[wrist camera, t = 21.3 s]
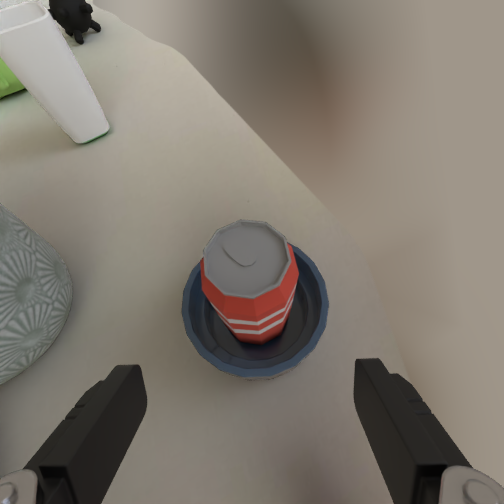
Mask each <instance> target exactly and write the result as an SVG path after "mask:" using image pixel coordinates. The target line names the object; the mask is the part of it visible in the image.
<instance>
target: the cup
mask: <svg viewBox="0 0 504 504" xmlns="http://www.w3.org/2000/svg"><path fill="white" fill-rule="evenodd" d="M0 57H1V58H2V60H3V61H4V62H5V63H6V65H7V66H8V67H9V68H10V70H11V71H12V72H13V73H14V75H15V76H16V77H17V78H18V79H19V81H20V82H21V83H22V84H23V85H24V87H25V88H26V89H27V90H28V91H29V93H30V94H31V95H32V96H33V97H34V98H35V100H36V101H37V102H38V103H39V104H40V105H41V106H42V108H43V109H44V110H45V111H46V112H47V113H48V114H49V115H50V117H51V118H52V119H53V120H54V121H55V122H56V123H57V124H58V125H59V126H60V127H61V128H62V129H63V130H64V132H65V133H66V134H67V135H68V136H69V137H70V138H71V139H72V140H73V141H74V142H75V143H87V142H89V141H92V140H94V139H96V138H98V137H100V136H103V135H104V134H106V133H107V132H108V130H109V128H110V126H109V124H108V121H107V119H106V117H105V115H104V112H103V110H102V108H101V106H100V104H99V102H98V100H97V98H96V96H95V94H94V92H93V90H92V88H91V86H90V84H89V82H88V80H87V78H86V76H85V75H84V73H83V71H82V69H81V67H80V65H79V63H78V62H77V60H76V58H75V56H74V54H73V53H72V51H71V49H70V47H69V46H68V44H67V42H66V40H65V39H64V37H63V35H62V33H61V32H60V30H59V28H58V27H57V25H56V23H55V21H54V20H53V18H52V16H51V14H50V13H49V11H48V10H47V9H46V8H45V7H44V6H43V4H42V3H41V2H39V1H36V0H31V1H25V2H21V3H18V4H15V5H11V6H8V7H5V8H1V9H0Z"/></svg>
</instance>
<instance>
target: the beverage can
mask: <svg viewBox="0 0 504 504" xmlns="http://www.w3.org/2000/svg"><path fill="white" fill-rule="evenodd" d="M200 266H201V282H202V290H203V292H204V294H205V295H206V297H207V298H208V300H209V301H210V303H211V304H212V306H213V307H214V309H215V310H216V312H217V313H218V315H219V317H220V318H221V320H222V321H223V323H224V324H225V326H226V327H227V328H228V329H229V330H230V331H231V332H232V333H233V335H234V336H235V337H236V338H237V339H238V340H239V341H240V342H245V343H251V344H258V345H263V344H265V343H266V342H268V341H270V340H272V339H274V338H276V337H278V336H279V335H281V333H282V331H283V329H284V326H285V324H286V322H287V320H288V317H289V315H290V310H291V306H292V302H293V297H294V293H295V289H296V284H297V280H298V275H299V272H298V268H297V264H296V260H295V257H294V253H293V249H292V246H291V245H289V244H288V243H287V241H286V237H285V236H284V235H282V234H281V233H280V232H278V231H277V230H276V229H274V228H273V227H272V226H271V225H269V224H268V223H267V222H262V221H252V220H241V219H240V220H238V221H236V222H233V223H231V224H229V225H227V226H224V227H222V228H220V229H218V230H217V231H216V232H215V233H214V235H213V236H212V238H211V239H210V241H209V242H208V244H207V245H206V247H205V248H204V250H203V258H202V260H201V261H200Z"/></svg>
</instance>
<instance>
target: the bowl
mask: <svg viewBox="0 0 504 504" xmlns="http://www.w3.org/2000/svg"><path fill="white" fill-rule="evenodd" d="M287 243H288V242H287ZM288 244H289V245H291V246H292V249H293V253H294V257H295V260H296V264H297V268H298V272H299V275H298V280H297V284H296V289H295V293H294V297H293V302H292V306H291V310H290V315H289V317H288V320H287V322H286V324H285V326H284V329H283V331H282V333H281V335H279V336H278V337H276V338H274V339H272V340H270V341H268V342H266V343H265V344H263V345H258V344H251V343H245V342H240V341H239V340H238V339H237V338H236V337H235V336H234V335H233V333H232V332H231V331H230V330H229V329H228V328H227V327H226V326H225V324H224V323H223V321H222V320H221V318H220V317H219V315H218V313H217V312H216V310H215V309H214V307H213V306H212V304H211V303H210V301H209V300H208V298H207V297H206V295H205V294H204V292H203V290H202V282H201V266H200V262H199V263H198V264H197V265H196V266H195V268H194V269H193V270H192V272H191V274H190V276H189V279H188V281H187V284H186V286H185V288H184V291H183V301H182V316H183V321H184V325H185V329H186V333H187V336H188V337H189V339H190V340H191V342H192V343H193V345H194V347H195V348H196V350H197V351H198V353H199V354H200V355H201V356H202V357H203V358H205V359H206V360H207V361H209V362H210V363H211V364H212V365H214V366H215V367H216V368H218V369H219V370H221V371H223V372H225V373H227V374H229V375H232V376H236V377H239V378H242V379H245V380H250V381H252V380H270V379H274V378H276V377H278V376H281V375H283V374H285V373H288V372H290V371H292V370H293V369H294V368H295V367H296V366H297V365H298V364H300V363H301V362H302V361H303V360H304V359H305V358H306V357H307V356H308V355H309V354H310V353H311V352H312V351H313V350H314V348H315V347H316V345H317V343H318V341H319V339H320V337H321V335H322V333H323V331H324V329H325V327H326V322H327V315H328V308H329V301H328V295H327V290H326V285H325V281H324V279H323V277H322V276H321V274H320V272H319V270H318V268H317V267H316V265H315V263H314V262H313V261H312V260H311V259H310V258H309V257H308V256H307V255H306V254H305V253H303V252H302V251H301V250H300V249H299V248H297V247H295V246H293V245H292V244H290V243H288ZM201 260H202V259H201ZM201 260H200V261H201Z"/></svg>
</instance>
